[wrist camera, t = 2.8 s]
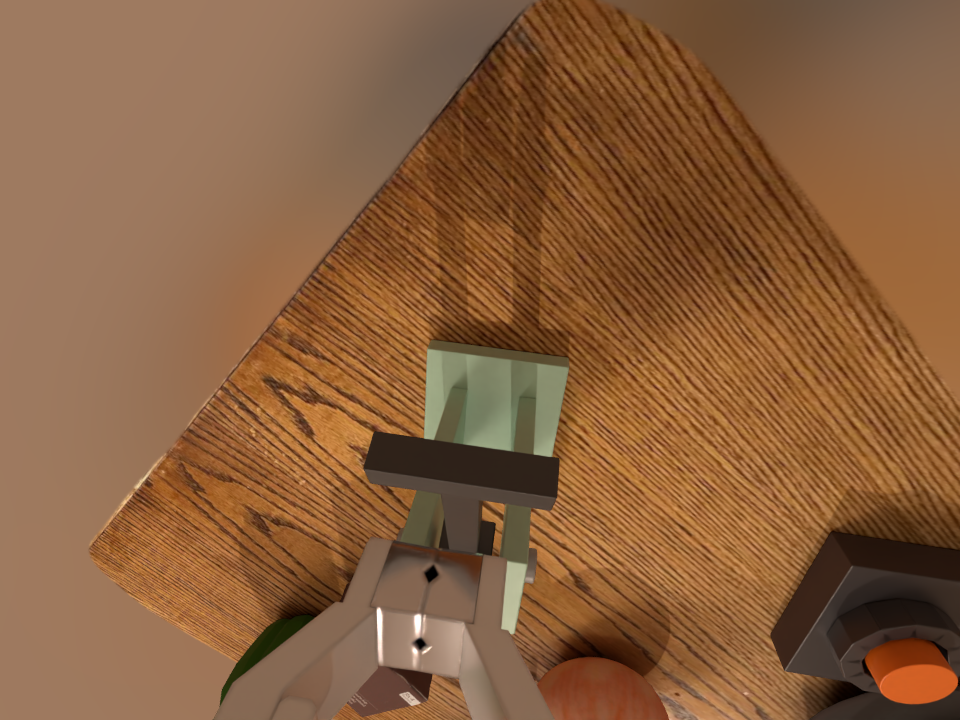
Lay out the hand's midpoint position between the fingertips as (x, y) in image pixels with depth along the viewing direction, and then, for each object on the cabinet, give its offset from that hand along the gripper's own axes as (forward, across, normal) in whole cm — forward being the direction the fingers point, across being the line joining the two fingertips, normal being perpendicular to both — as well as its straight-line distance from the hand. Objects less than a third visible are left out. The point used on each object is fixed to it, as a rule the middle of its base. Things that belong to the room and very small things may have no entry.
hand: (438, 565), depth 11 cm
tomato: (+19, -11, +34) cm, 40 cm away
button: (+15, -27, +20) cm, 36 cm away
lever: (+7, 0, +4) cm, 8 cm away
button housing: (+19, -27, +20) cm, 38 cm away
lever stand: (+19, 0, +9) cm, 21 cm away
